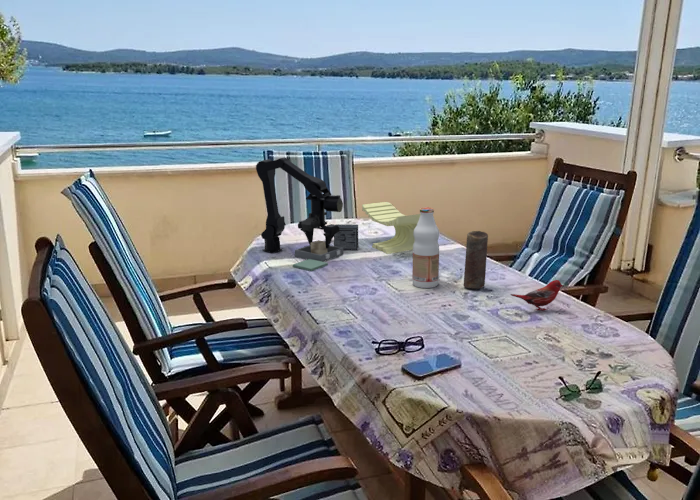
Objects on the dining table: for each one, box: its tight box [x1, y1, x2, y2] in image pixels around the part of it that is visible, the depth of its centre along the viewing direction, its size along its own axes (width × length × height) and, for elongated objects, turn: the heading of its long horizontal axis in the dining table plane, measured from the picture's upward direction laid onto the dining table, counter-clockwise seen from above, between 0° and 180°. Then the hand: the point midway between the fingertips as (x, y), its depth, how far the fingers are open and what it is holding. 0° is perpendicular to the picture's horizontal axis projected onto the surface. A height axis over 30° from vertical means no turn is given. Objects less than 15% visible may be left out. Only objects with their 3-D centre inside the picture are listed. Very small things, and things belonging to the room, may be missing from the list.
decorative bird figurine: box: [510, 279, 564, 311], centre depth 192 cm, size 3×18×10 cm, turn 100°
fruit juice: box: [411, 206, 440, 289], centre depth 216 cm, size 9×9×28 cm
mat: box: [292, 259, 329, 272], centre depth 244 cm, size 10×10×1 cm
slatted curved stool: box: [361, 201, 421, 255], centre depth 266 cm, size 30×16×18 cm, turn 28°
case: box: [294, 244, 344, 262], centre depth 258 cm, size 15×15×3 cm
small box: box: [333, 223, 359, 251], centre depth 268 cm, size 11×6×10 cm, turn 84°
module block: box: [310, 239, 328, 255], centre depth 257 cm, size 5×5×6 cm
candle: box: [463, 230, 489, 290], centre depth 213 cm, size 8×7×20 cm
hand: (318, 246), depth 257 cm, fingers open, 9 cm apart
